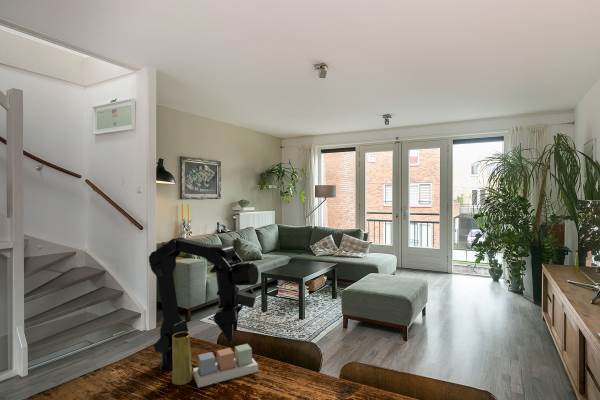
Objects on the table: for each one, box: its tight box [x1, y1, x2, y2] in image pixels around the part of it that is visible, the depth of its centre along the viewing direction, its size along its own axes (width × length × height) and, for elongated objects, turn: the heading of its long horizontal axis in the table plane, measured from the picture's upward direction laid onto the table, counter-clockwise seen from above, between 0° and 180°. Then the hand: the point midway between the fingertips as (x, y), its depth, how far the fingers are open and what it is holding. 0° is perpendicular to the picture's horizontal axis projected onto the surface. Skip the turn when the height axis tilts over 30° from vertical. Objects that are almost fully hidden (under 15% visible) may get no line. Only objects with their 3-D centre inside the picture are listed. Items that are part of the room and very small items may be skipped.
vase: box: [171, 331, 194, 386], centre depth 109 cm, size 6×6×14 cm
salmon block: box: [216, 347, 235, 372], centre depth 112 cm, size 4×4×5 cm
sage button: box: [234, 343, 253, 367], centre depth 115 cm, size 4×4×5 cm
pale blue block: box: [197, 351, 216, 377], centre depth 110 cm, size 4×4×5 cm
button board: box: [192, 357, 259, 388], centre depth 113 cm, size 8×19×2 cm, turn 117°
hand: (232, 336), depth 108 cm, fingers open, 9 cm apart
